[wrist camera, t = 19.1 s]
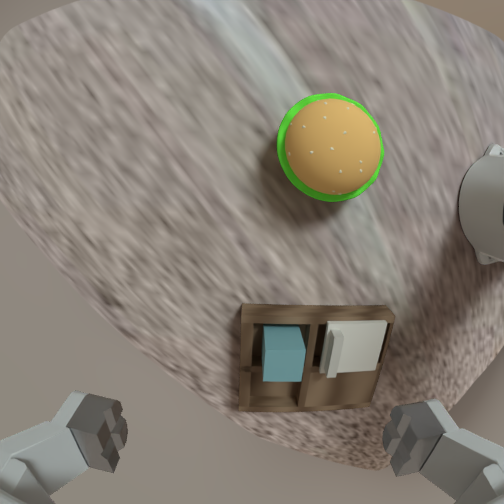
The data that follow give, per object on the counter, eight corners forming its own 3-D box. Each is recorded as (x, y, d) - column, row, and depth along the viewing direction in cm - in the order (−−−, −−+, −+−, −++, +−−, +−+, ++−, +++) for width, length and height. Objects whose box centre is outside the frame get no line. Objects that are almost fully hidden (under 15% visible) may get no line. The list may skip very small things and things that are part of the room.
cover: (385, 320, 37) (393, 329, 35) (373, 367, 39) (379, 378, 37) (327, 321, 37) (332, 332, 35) (318, 369, 39) (322, 382, 36)
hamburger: (263, 184, 37) (266, 188, 28) (286, 90, 34) (295, 68, 25) (356, 209, 37) (383, 220, 29) (377, 119, 34) (408, 108, 26)
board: (385, 305, 41) (395, 315, 37) (363, 393, 45) (369, 406, 41) (242, 303, 40) (241, 315, 37) (239, 396, 45) (238, 411, 41)
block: (297, 321, 40) (305, 350, 33) (294, 350, 41) (301, 381, 34) (263, 321, 40) (265, 349, 33) (261, 350, 41) (263, 381, 34)
